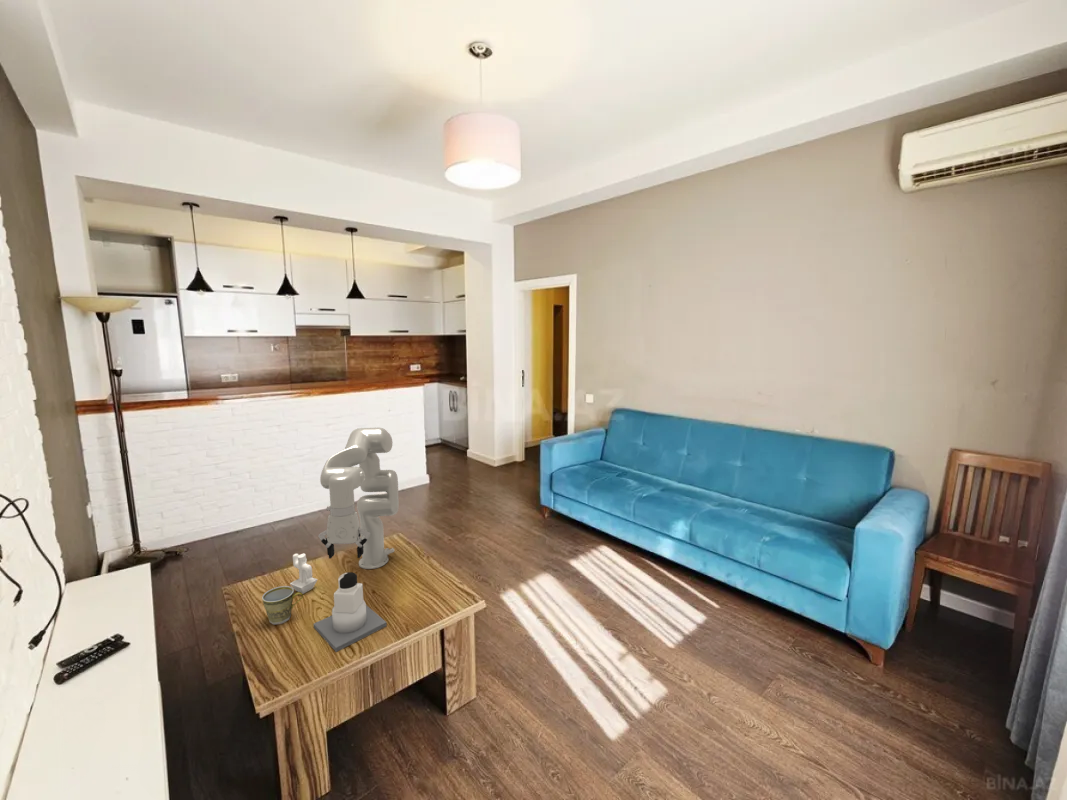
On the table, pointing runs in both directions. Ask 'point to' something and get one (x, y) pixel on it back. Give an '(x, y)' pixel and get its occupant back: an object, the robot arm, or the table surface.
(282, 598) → the ceramic cup
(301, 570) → the figurine
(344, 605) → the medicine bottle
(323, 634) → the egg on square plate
